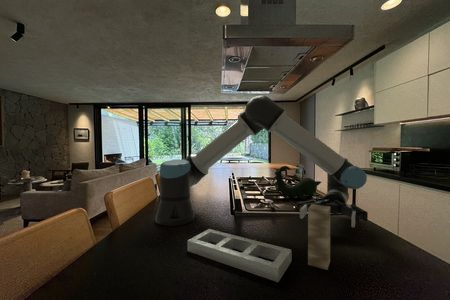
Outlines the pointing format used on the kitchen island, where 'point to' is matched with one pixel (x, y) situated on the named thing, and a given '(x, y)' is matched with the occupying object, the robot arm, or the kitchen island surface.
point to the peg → (319, 236)
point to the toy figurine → (295, 186)
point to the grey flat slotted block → (244, 259)
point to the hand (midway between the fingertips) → (325, 218)
